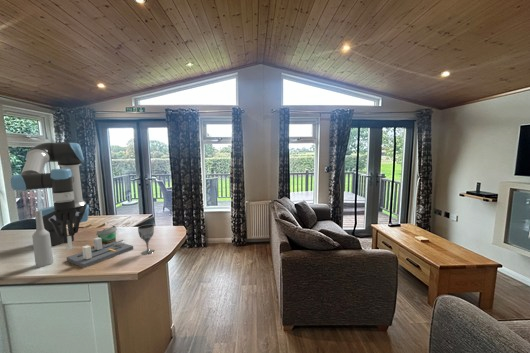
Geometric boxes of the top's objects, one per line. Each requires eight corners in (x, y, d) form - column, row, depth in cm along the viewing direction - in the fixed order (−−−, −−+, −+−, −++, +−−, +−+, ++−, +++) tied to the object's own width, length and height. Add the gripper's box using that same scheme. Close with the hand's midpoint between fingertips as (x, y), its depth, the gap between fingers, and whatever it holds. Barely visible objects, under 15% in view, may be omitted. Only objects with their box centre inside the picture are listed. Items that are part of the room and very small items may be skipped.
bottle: (43, 267, 116) (36, 212, 113) (32, 267, 117) (25, 212, 114) (56, 261, 122) (50, 209, 119) (46, 261, 123) (40, 209, 120)
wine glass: (143, 249, 135) (141, 224, 133) (157, 248, 135) (156, 223, 134) (137, 255, 127) (135, 229, 125) (152, 254, 127) (150, 228, 126)
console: (66, 260, 123) (65, 253, 122) (115, 244, 144) (115, 237, 144) (84, 268, 114) (83, 259, 114) (133, 249, 136) (132, 242, 135)
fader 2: (94, 249, 131) (93, 238, 131) (99, 247, 133) (98, 237, 133) (97, 250, 129) (96, 239, 129) (102, 248, 132) (101, 238, 131)
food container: (106, 248, 139) (104, 231, 138) (97, 247, 140) (96, 231, 139) (122, 240, 151) (121, 225, 150) (114, 240, 152) (113, 225, 151)
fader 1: (83, 258, 119) (81, 246, 119) (88, 256, 122) (87, 245, 121) (86, 259, 118) (85, 248, 117) (92, 257, 120) (90, 246, 119)
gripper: (50, 204, 103) (55, 255, 105) (84, 199, 114) (88, 245, 116) (42, 203, 107) (48, 252, 109) (76, 198, 118) (81, 243, 120)
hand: (69, 248), depth 113 cm, fingers closed
